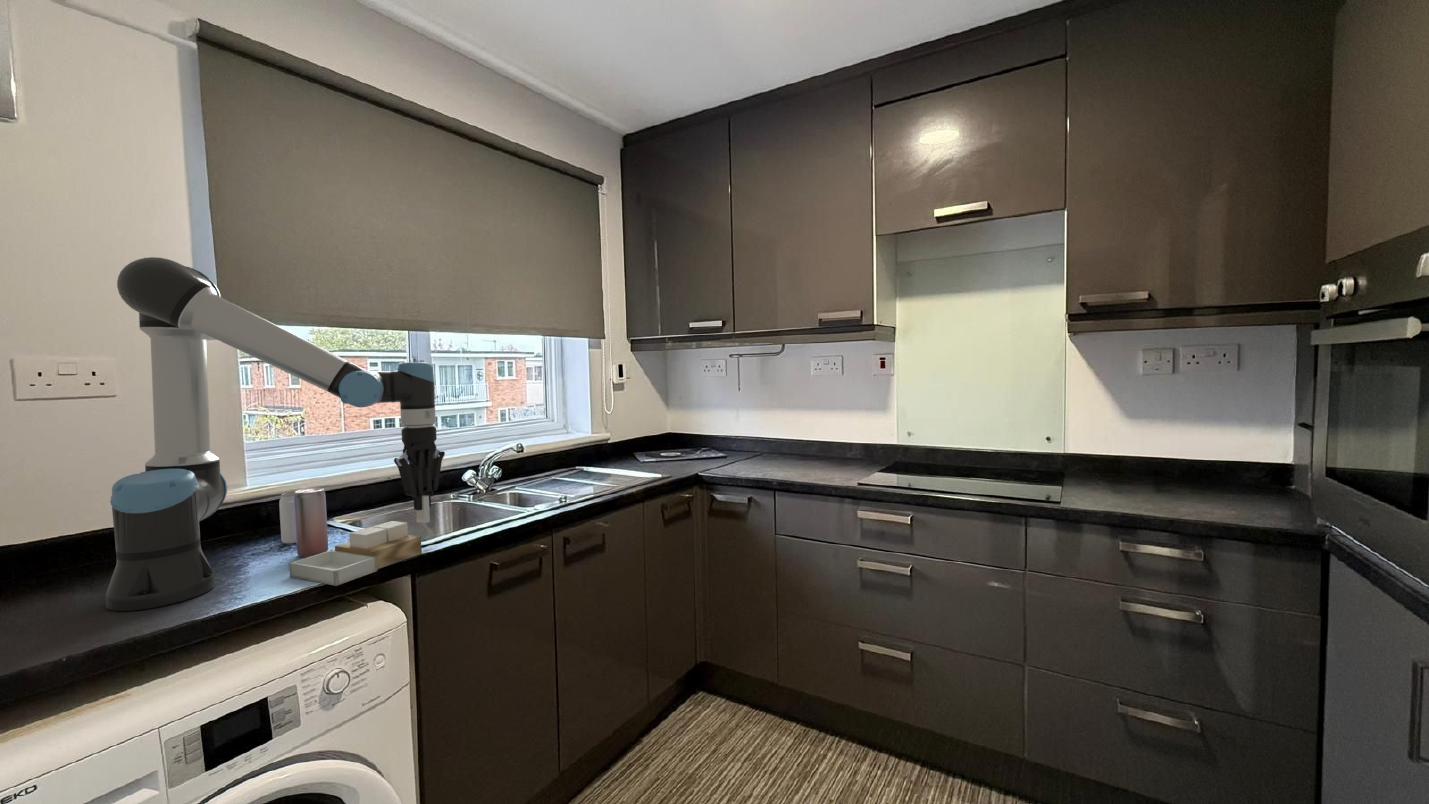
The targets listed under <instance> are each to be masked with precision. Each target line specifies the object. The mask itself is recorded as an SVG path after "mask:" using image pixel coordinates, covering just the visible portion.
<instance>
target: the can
mask: <svg viewBox="0 0 1429 804" xmlns="http://www.w3.org/2000/svg"><path fill="white" fill-rule="evenodd" d="M294 495H295V491H290V492H289V491H288V492H285V493H282V494H281V495H280V498H279V501H278V502H279V505H278V506H279V520H280V522H279V523H280V536H281V537H280V538H281V542H282V543H283V544H285V545H293V544H295V545H296V544H297V541H296V523H295V506H294Z"/></svg>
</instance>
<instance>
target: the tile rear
mask: <svg viewBox="0 0 1429 804" xmlns="http://www.w3.org/2000/svg"><path fill="white" fill-rule="evenodd" d="M371 527H374V528H382V529H386V536H387V541H388V542H389V541H392V540H395V539H399V538H402V537H405V536H408V535H409V530H408V529H409V528H408V522H405V521H404V522H403V521H394V520H391V521H387V522H384V523H380V524H377V525H373V526H371Z"/></svg>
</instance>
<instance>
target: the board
mask: <svg viewBox="0 0 1429 804" xmlns="http://www.w3.org/2000/svg"><path fill="white" fill-rule="evenodd" d="M334 550H335V551H341V552H348V553H354V554H361V555H367V556H374V557H377V570H380V569H382V568H384V567H387V566H390V565H393V564H395V563H398V562H401V561H402V562H403V561H404V560H407V559H410V558H413V557H415V556H419V555H421V554H423V553H422V536H420V535H413V534H408V536H405V537H402V538H399V539H395V540H392V541H389V542H388V541H387V542H386V543H383V544H380V545H376V546H373V547H370V548H367V549H364V548H358V547H351V546H350V541H347V542H345V543H343V542H342V543H341V544H338V545H334Z"/></svg>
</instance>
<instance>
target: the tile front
mask: <svg viewBox="0 0 1429 804" xmlns="http://www.w3.org/2000/svg"><path fill="white" fill-rule="evenodd" d="M348 534H349V542H350V546H351V547H358V548H364V549H367V548H370V547H373V546H376V545H380V544H383V543H386V542H387V536H386V529H382V528H374V527H372V526H370V527H366V528H362V529H359V530H354V531H351V532H349V533H348Z"/></svg>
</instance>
